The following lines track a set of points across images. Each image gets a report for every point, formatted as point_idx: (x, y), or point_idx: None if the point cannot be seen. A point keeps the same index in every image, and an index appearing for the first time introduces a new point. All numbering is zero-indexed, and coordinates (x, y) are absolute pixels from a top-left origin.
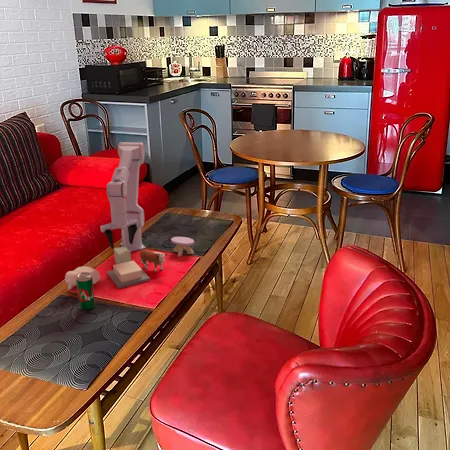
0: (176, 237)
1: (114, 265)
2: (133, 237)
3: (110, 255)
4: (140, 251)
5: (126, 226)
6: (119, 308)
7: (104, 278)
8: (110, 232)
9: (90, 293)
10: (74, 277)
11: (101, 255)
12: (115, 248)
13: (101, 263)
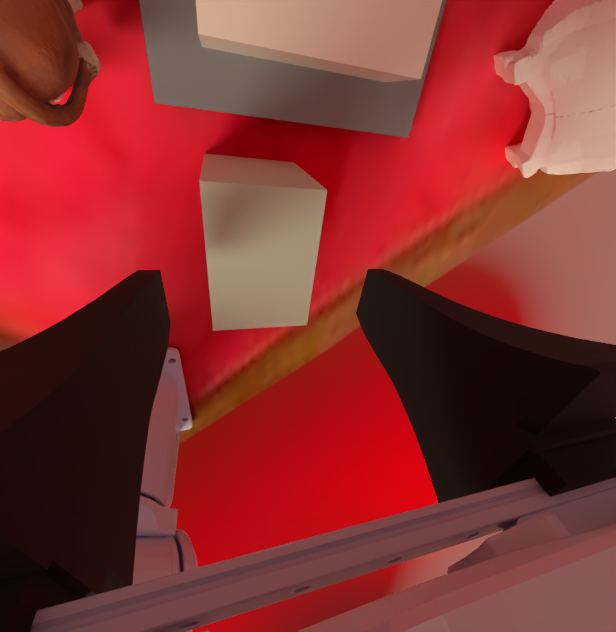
0: None
1: (417, 60)
2: (81, 312)
3: (274, 347)
4: (44, 68)
5: (170, 589)
6: None
7: (451, 70)
8: (571, 413)
9: None
10: None
11: (309, 360)
12: (296, 321)
13: (350, 288)
